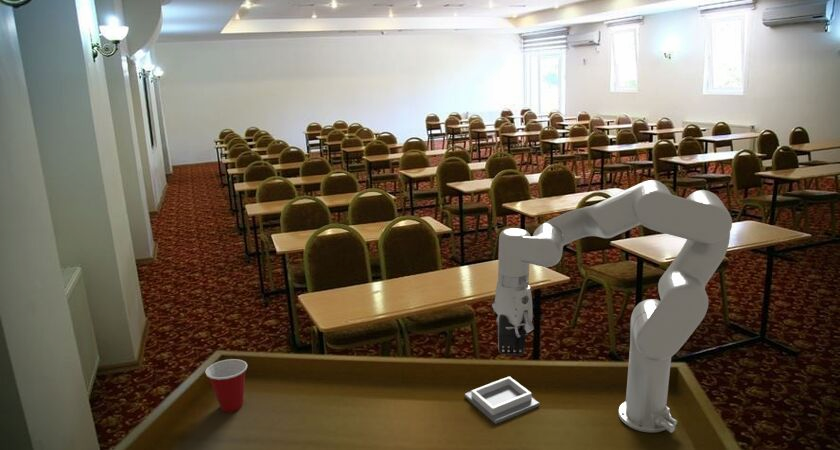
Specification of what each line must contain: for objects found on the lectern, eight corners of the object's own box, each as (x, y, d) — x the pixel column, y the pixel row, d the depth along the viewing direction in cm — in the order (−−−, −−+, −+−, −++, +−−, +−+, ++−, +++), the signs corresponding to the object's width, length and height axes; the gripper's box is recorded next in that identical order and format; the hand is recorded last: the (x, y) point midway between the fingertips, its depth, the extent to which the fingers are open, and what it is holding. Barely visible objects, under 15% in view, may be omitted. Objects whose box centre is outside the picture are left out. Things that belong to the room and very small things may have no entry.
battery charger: (497, 356, 158) (498, 317, 154) (497, 348, 162) (498, 310, 158) (525, 357, 158) (527, 318, 153) (524, 349, 161) (526, 310, 157)
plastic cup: (258, 394, 173) (253, 356, 169) (244, 418, 163) (238, 378, 159) (221, 393, 174) (214, 356, 170) (204, 417, 164) (197, 377, 160)
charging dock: (539, 406, 163) (539, 396, 162) (495, 424, 156) (495, 414, 155) (506, 381, 174) (506, 371, 173) (464, 396, 168) (464, 387, 167)
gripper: (548, 287, 147) (544, 354, 153) (504, 263, 162) (502, 325, 168) (523, 294, 144) (520, 362, 150) (480, 269, 158) (479, 332, 164)
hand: (511, 342), depth 159 cm, fingers closed on battery charger, 6 cm apart
